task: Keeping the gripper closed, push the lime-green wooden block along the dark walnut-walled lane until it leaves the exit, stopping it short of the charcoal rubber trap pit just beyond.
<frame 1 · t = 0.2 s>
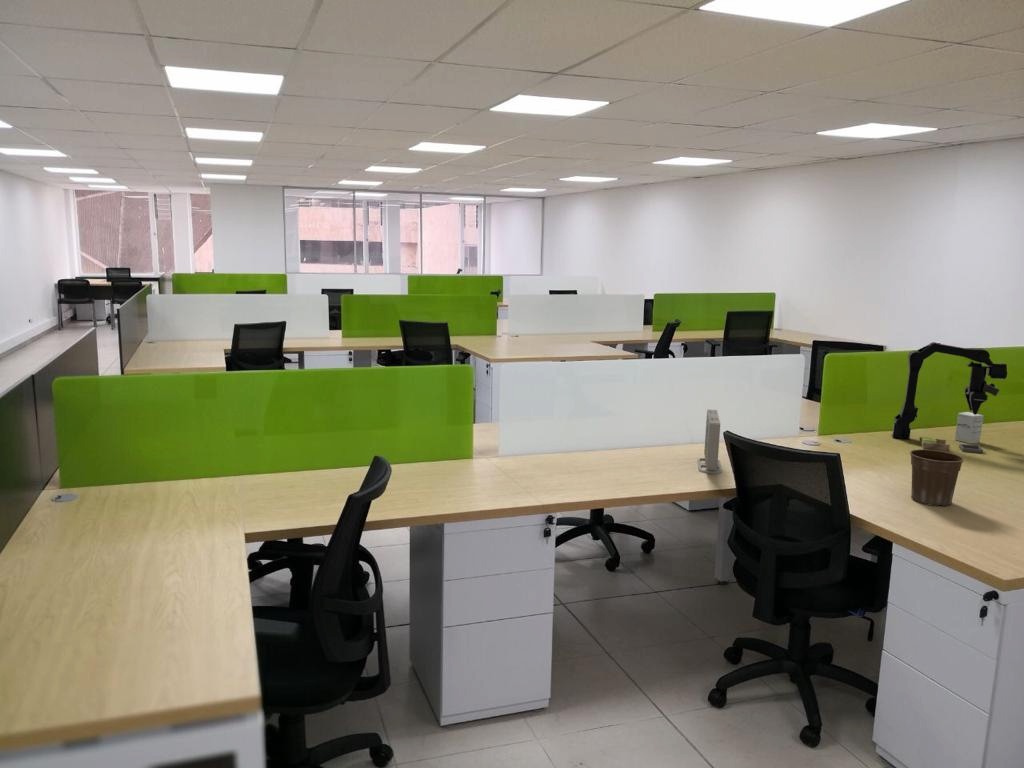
hand: (973, 412, 342), 14 cm above the table, tool pointing down, fingers open, 9 cm apart
network device: (709, 466, 302), on the table
lime block: (928, 446, 340), on the table
trap pit: (970, 450, 335), on the table
supplement box: (967, 441, 351), on the table
plant pot: (930, 501, 266), on the table
lane rails: (933, 446, 339), on the table
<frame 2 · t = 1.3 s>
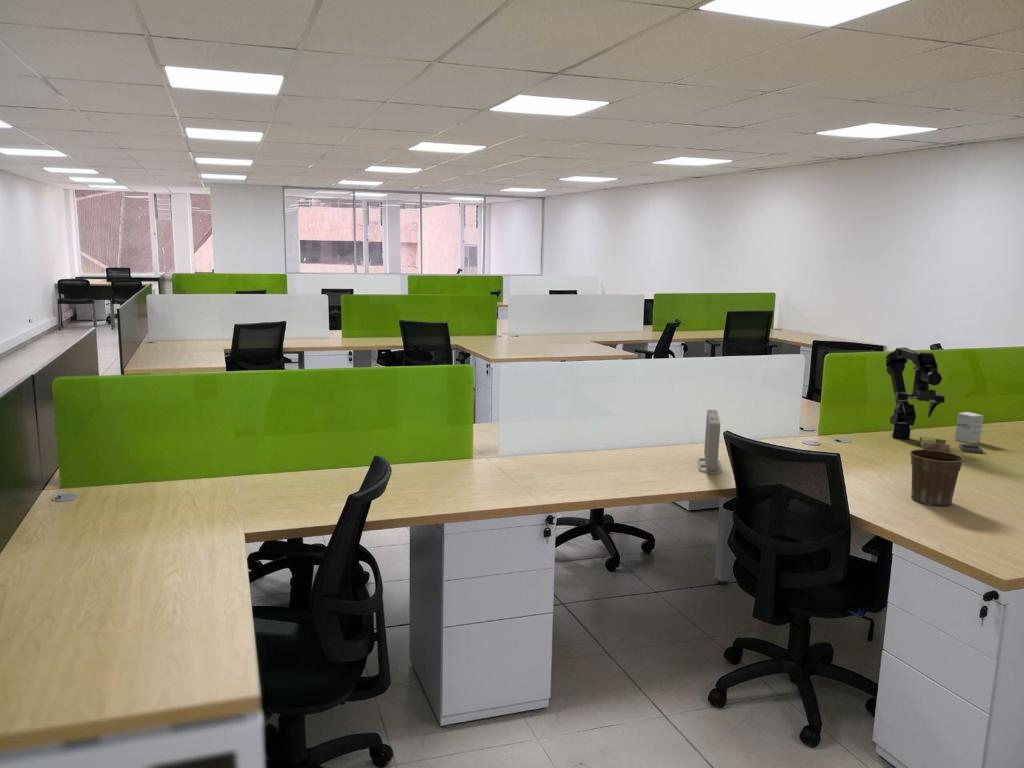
hand: (917, 416, 340), 13 cm above the table, tool pointing down, fingers open, 9 cm apart
nothing on the table moved.
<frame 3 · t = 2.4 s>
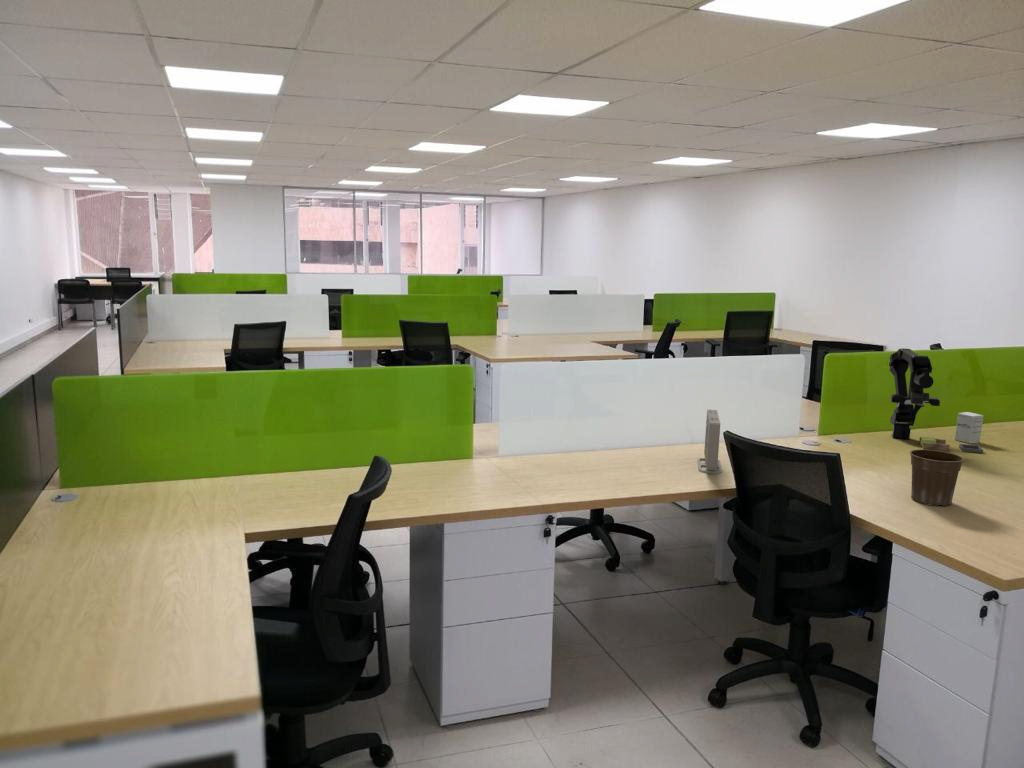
hand: (912, 419, 340), 11 cm above the table, tool pointing down, fingers closed
nothing on the table moved.
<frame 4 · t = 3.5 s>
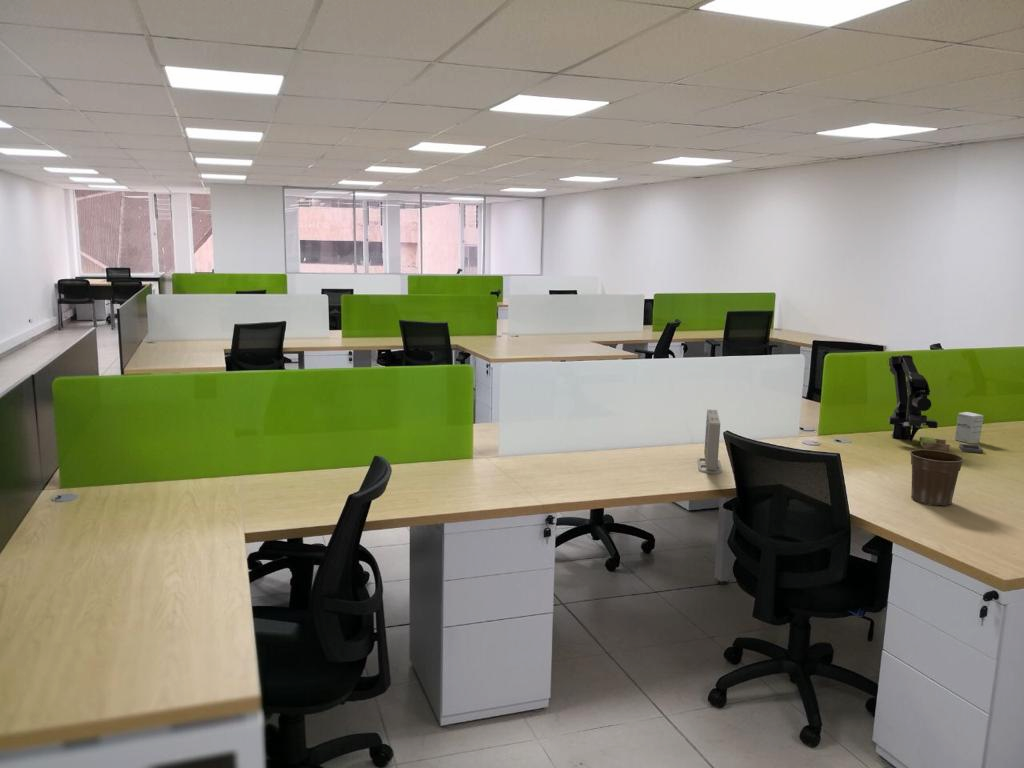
hand: (910, 441, 342), 2 cm above the table, tool pointing down, fingers closed
nothing on the table moved.
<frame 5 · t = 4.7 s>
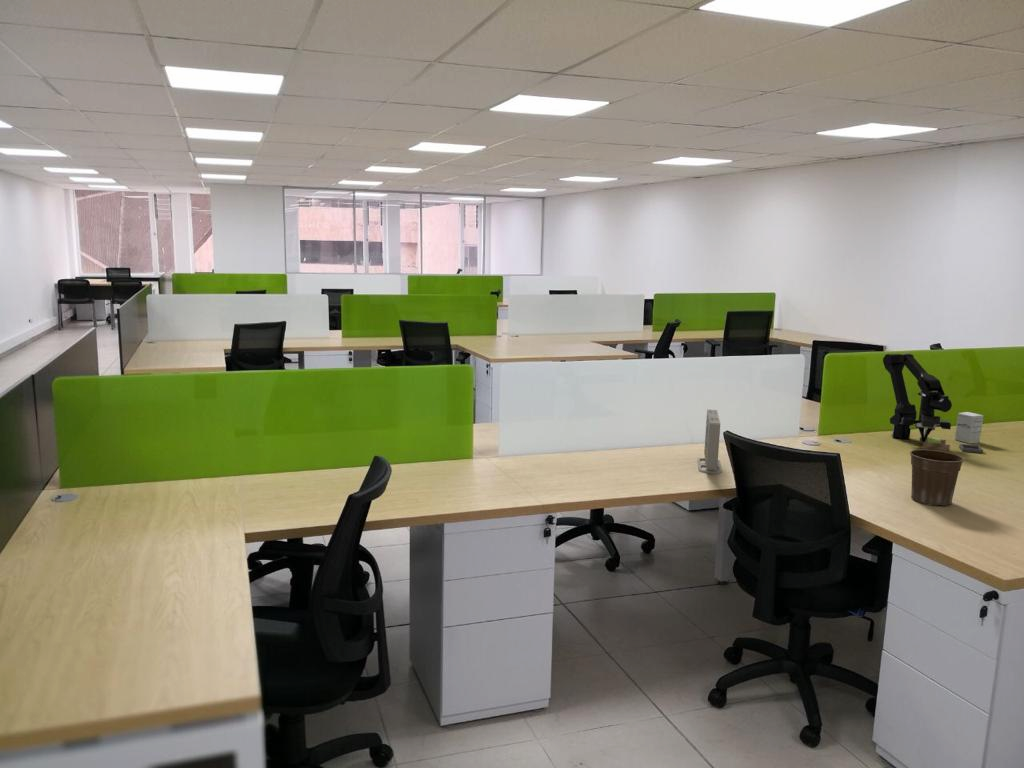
hand: (923, 442, 340), 2 cm above the table, tool pointing down, fingers closed
lime block: (932, 446, 339), on the table, touching gripper
everything else where it was.
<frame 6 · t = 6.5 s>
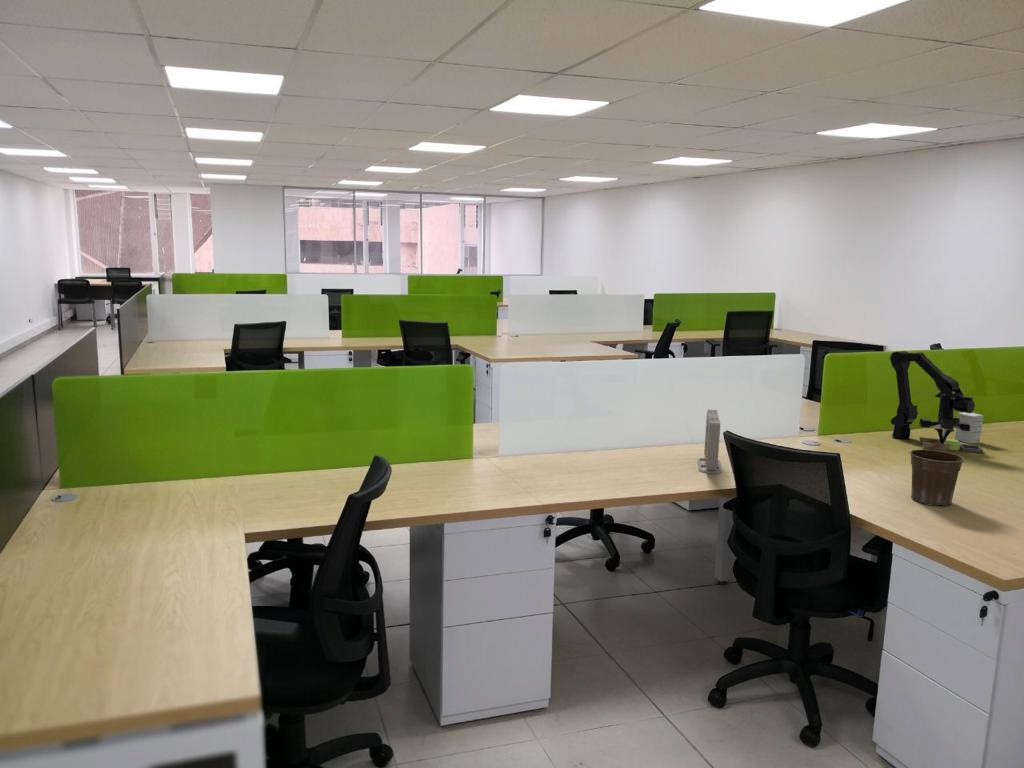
hand: (941, 444, 338), 2 cm above the table, tool pointing down, fingers closed
lime block: (951, 448, 337), on the table
everything else where it was.
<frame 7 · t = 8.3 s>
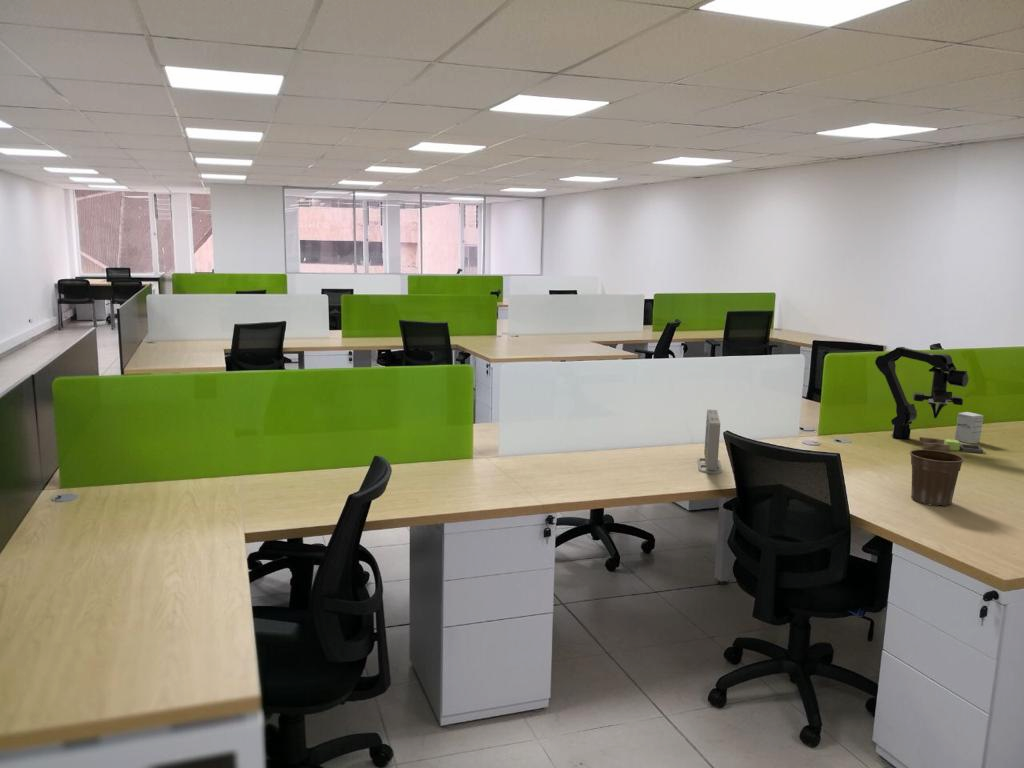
hand: (935, 418, 341), 12 cm above the table, tool pointing down, fingers closed
nothing on the table moved.
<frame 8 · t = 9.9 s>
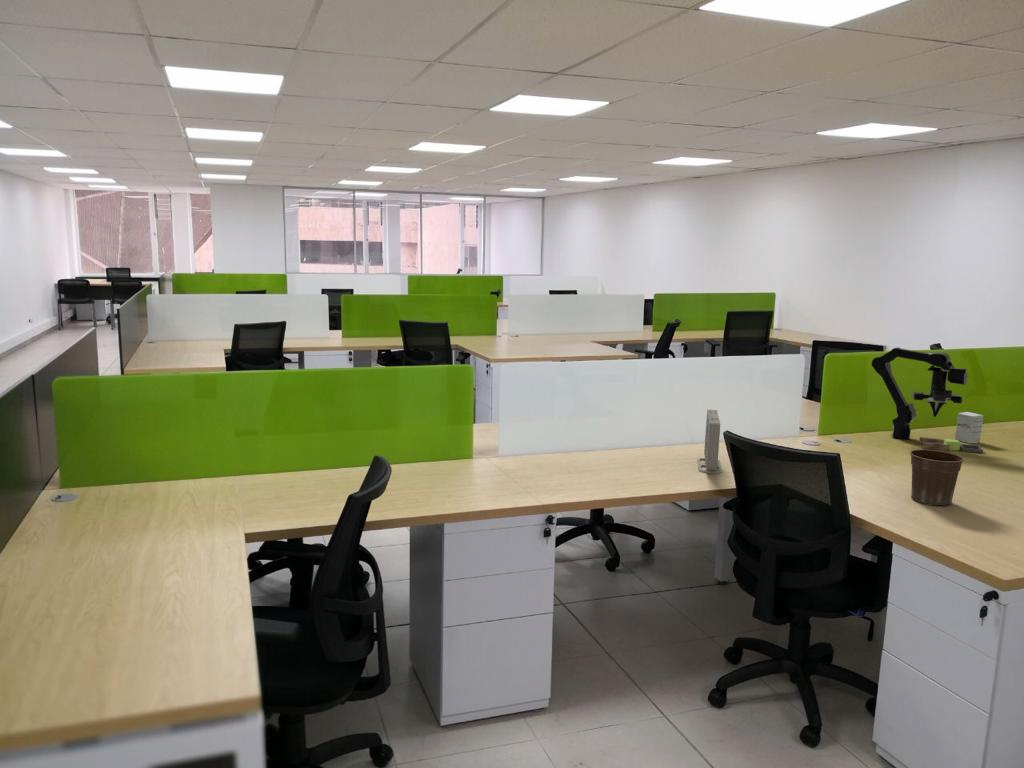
hand: (934, 416, 344), 12 cm above the table, tool pointing down, fingers closed
nothing on the table moved.
at the end: lime block 0.2 cm from the target spot, on the table; lime block touching table; lime block tilted 0° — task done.
